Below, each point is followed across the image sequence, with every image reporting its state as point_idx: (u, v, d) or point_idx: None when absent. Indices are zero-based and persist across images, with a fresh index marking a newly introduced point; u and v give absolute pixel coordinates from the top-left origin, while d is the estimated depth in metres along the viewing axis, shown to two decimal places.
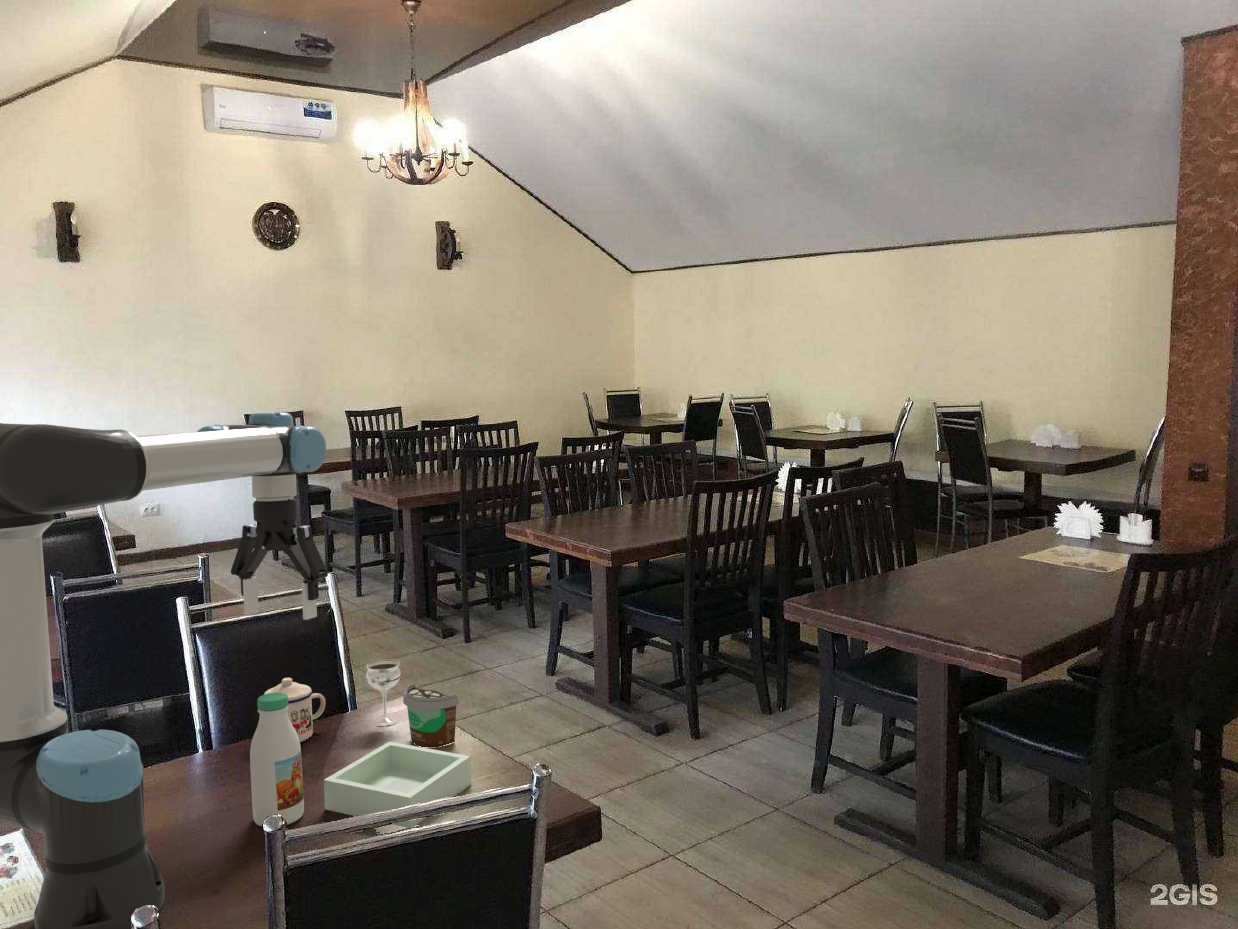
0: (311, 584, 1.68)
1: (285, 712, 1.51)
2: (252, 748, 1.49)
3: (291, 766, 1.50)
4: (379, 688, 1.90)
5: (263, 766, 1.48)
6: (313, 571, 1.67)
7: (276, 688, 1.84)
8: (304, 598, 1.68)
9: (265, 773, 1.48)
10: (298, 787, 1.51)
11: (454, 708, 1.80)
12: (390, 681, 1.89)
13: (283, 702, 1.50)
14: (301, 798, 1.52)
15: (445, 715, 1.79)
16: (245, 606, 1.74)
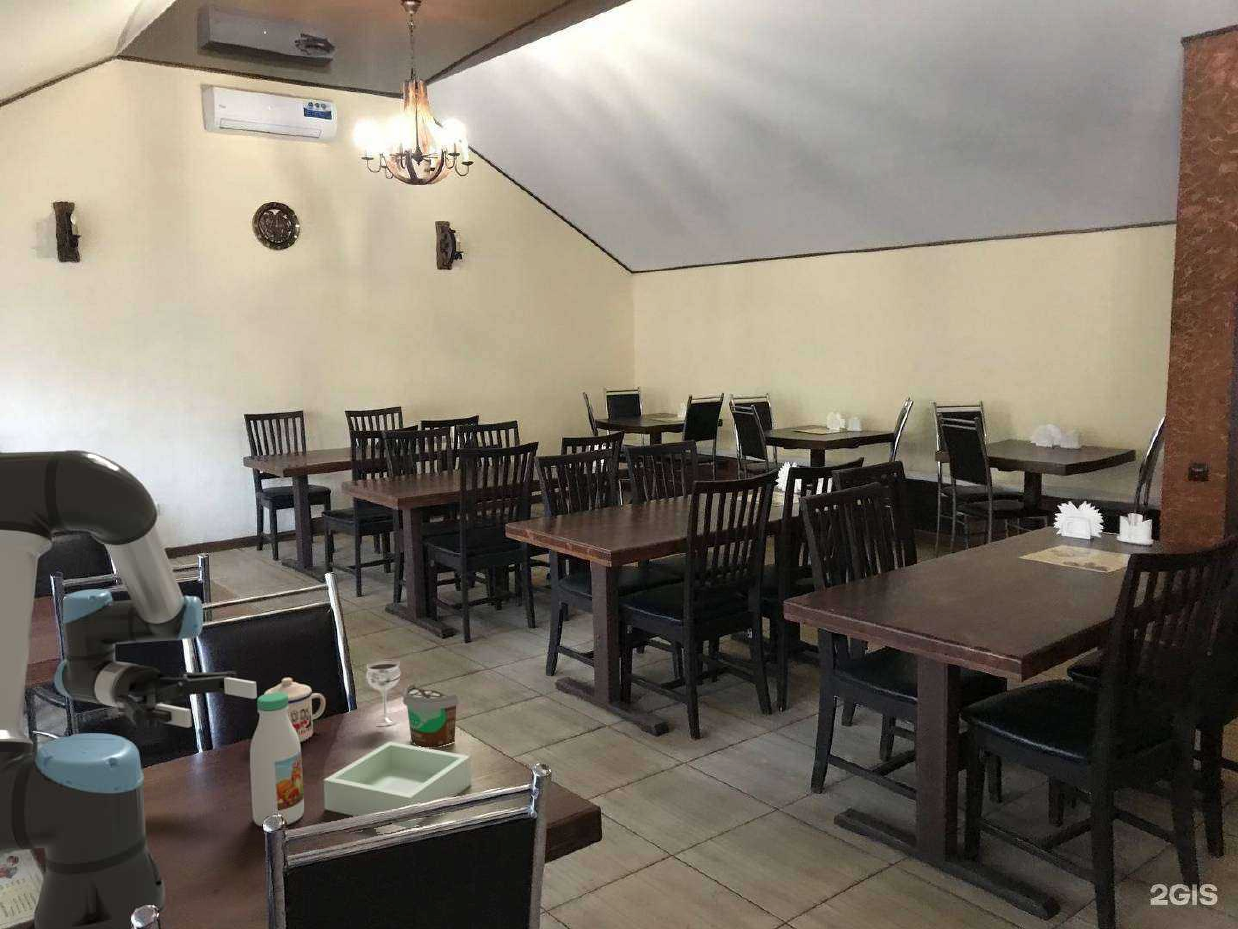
0: None
1: (285, 712, 1.51)
2: (252, 748, 1.49)
3: (291, 766, 1.50)
4: (379, 688, 1.90)
5: (263, 766, 1.48)
6: (226, 673, 1.67)
7: (276, 688, 1.84)
8: (238, 679, 1.63)
9: (264, 773, 1.48)
10: (298, 787, 1.51)
11: (454, 708, 1.80)
12: (390, 681, 1.89)
13: (283, 702, 1.50)
14: (301, 798, 1.52)
15: (445, 715, 1.79)
16: (181, 708, 1.50)
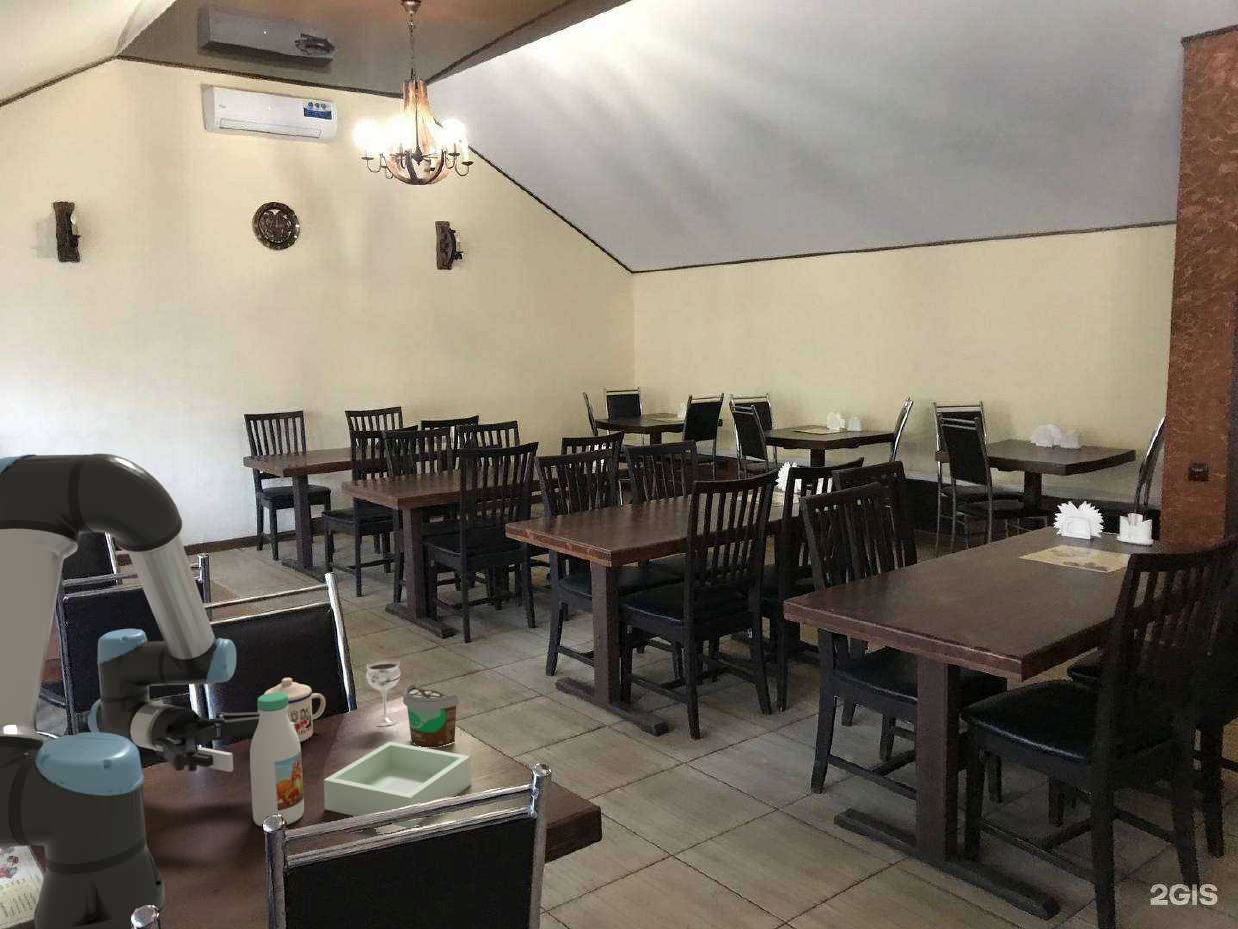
0: None
1: (285, 712, 1.51)
2: (252, 748, 1.49)
3: (291, 766, 1.50)
4: (379, 688, 1.90)
5: (263, 766, 1.48)
6: None
7: (276, 688, 1.84)
8: None
9: (264, 773, 1.48)
10: (298, 787, 1.51)
11: (454, 708, 1.80)
12: (390, 681, 1.89)
13: (283, 702, 1.50)
14: (301, 798, 1.52)
15: (445, 715, 1.79)
16: (222, 752, 1.48)
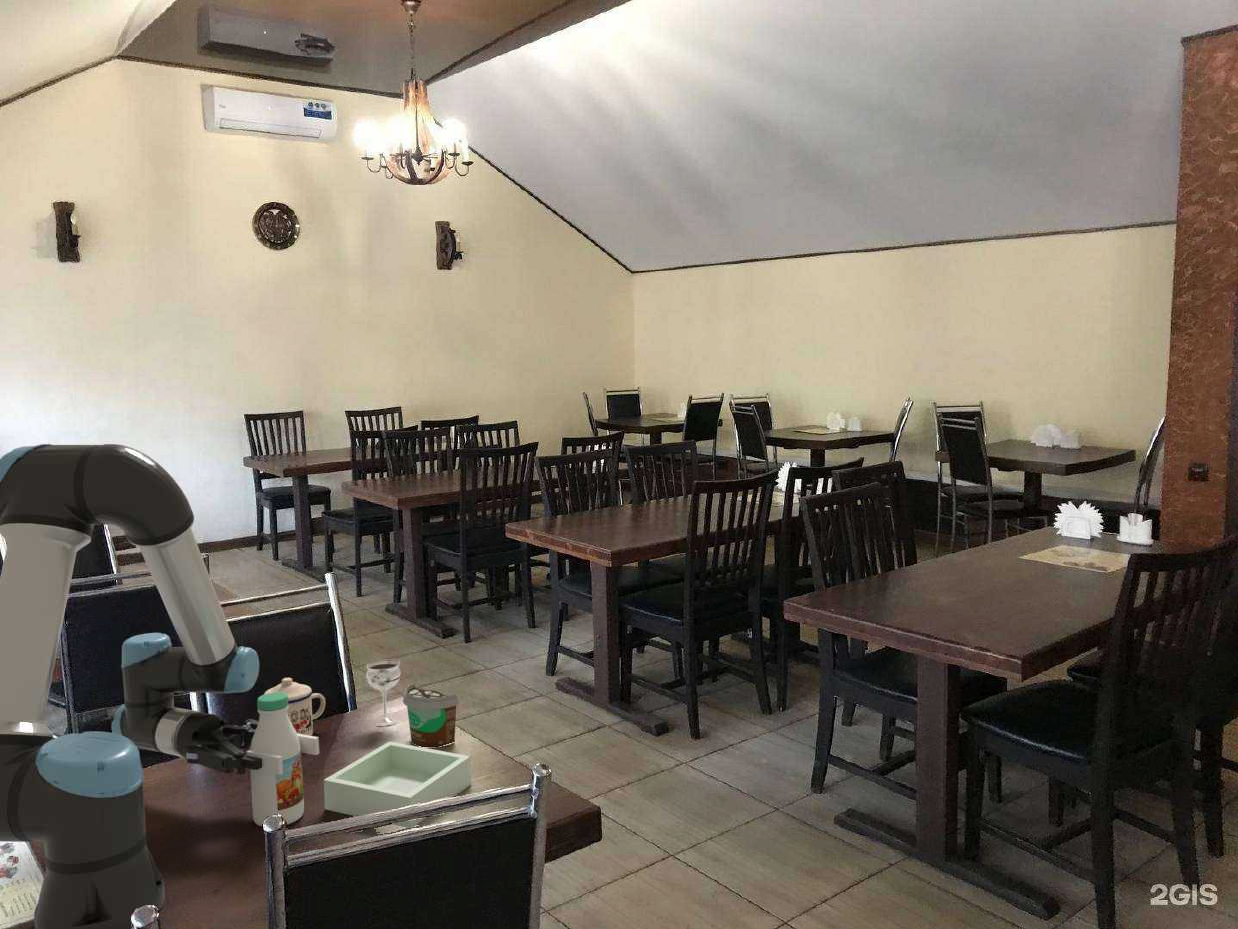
0: None
1: (285, 712, 1.51)
2: (252, 748, 1.49)
3: (291, 766, 1.50)
4: (379, 688, 1.90)
5: None
6: None
7: (276, 688, 1.84)
8: (299, 734, 1.55)
9: (264, 773, 1.48)
10: (298, 787, 1.51)
11: (454, 708, 1.80)
12: (390, 681, 1.89)
13: (282, 702, 1.50)
14: (301, 798, 1.52)
15: (445, 715, 1.79)
16: (272, 755, 1.46)
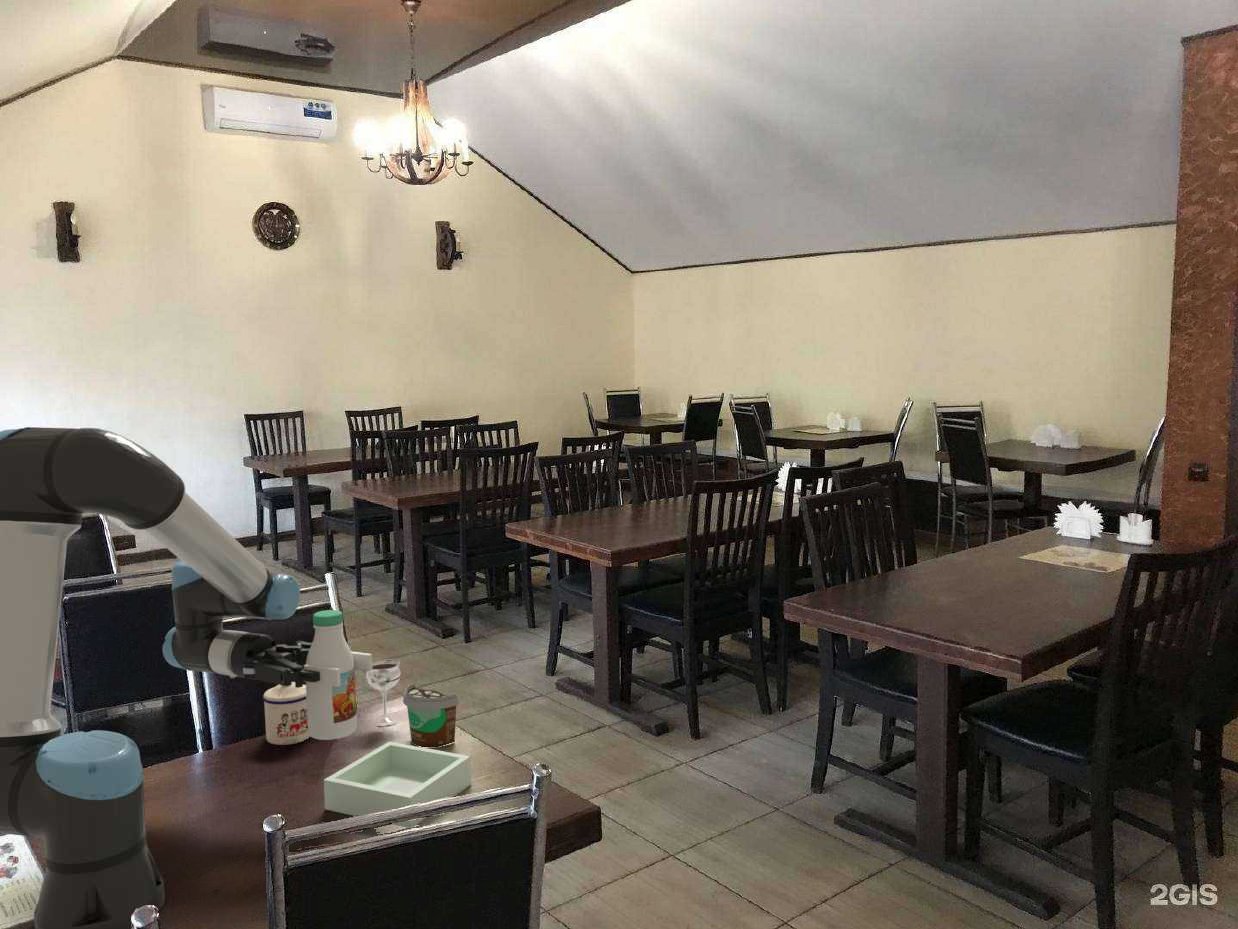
0: None
1: (340, 628, 1.54)
2: (308, 663, 1.53)
3: (346, 680, 1.53)
4: (379, 688, 1.90)
5: None
6: None
7: (276, 688, 1.84)
8: (351, 652, 1.58)
9: (321, 686, 1.52)
10: (352, 701, 1.55)
11: (454, 708, 1.80)
12: (390, 681, 1.89)
13: (338, 618, 1.53)
14: (355, 713, 1.56)
15: (445, 715, 1.79)
16: (330, 668, 1.50)
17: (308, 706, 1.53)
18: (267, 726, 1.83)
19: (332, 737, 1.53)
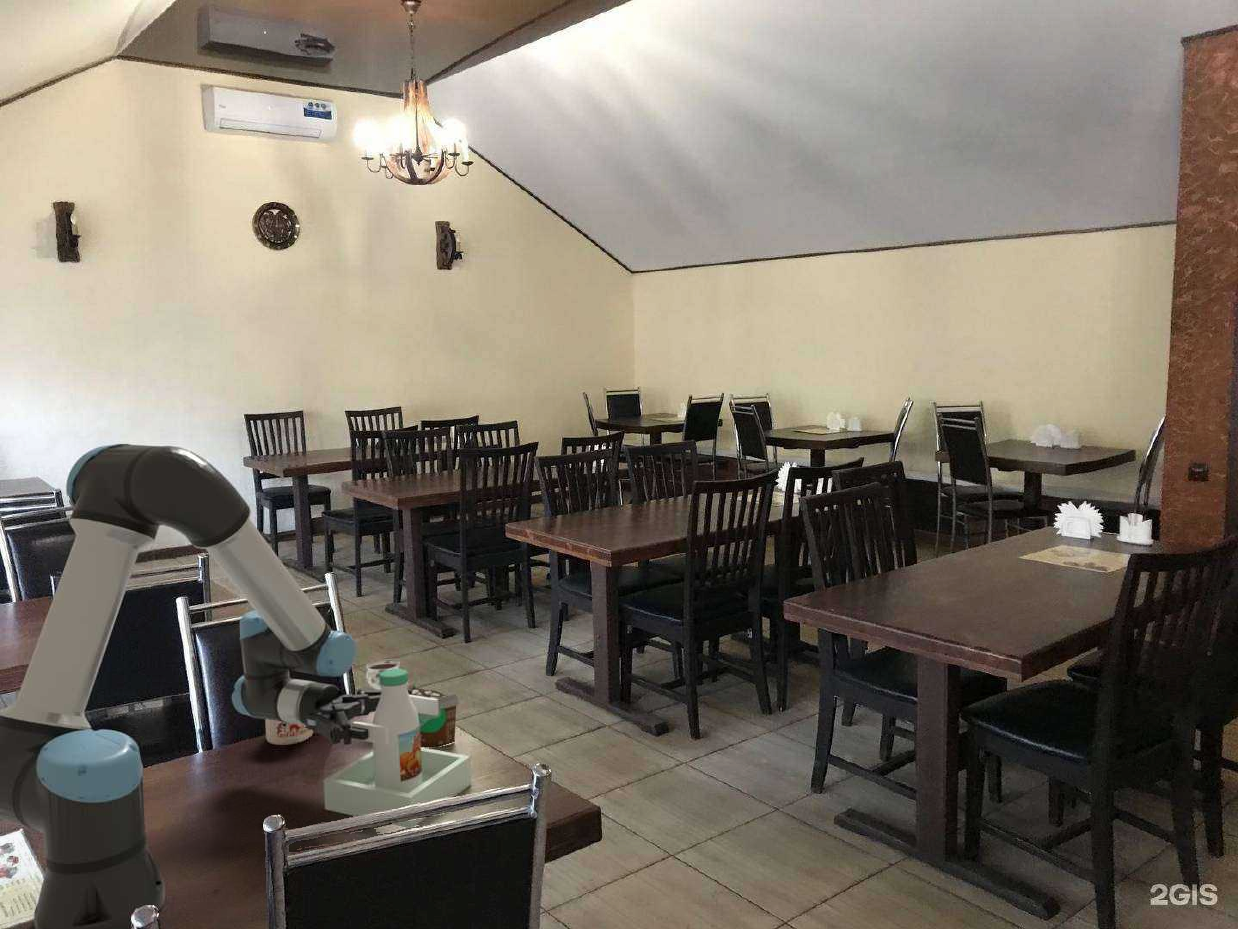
0: None
1: (406, 687, 1.57)
2: (375, 722, 1.56)
3: (412, 739, 1.56)
4: (379, 688, 1.90)
5: None
6: None
7: None
8: (418, 696, 1.64)
9: (388, 745, 1.55)
10: (418, 759, 1.58)
11: (454, 708, 1.80)
12: None
13: (404, 677, 1.56)
14: (420, 770, 1.59)
15: (445, 715, 1.79)
16: (378, 726, 1.51)
17: (375, 764, 1.57)
18: (267, 726, 1.83)
19: None
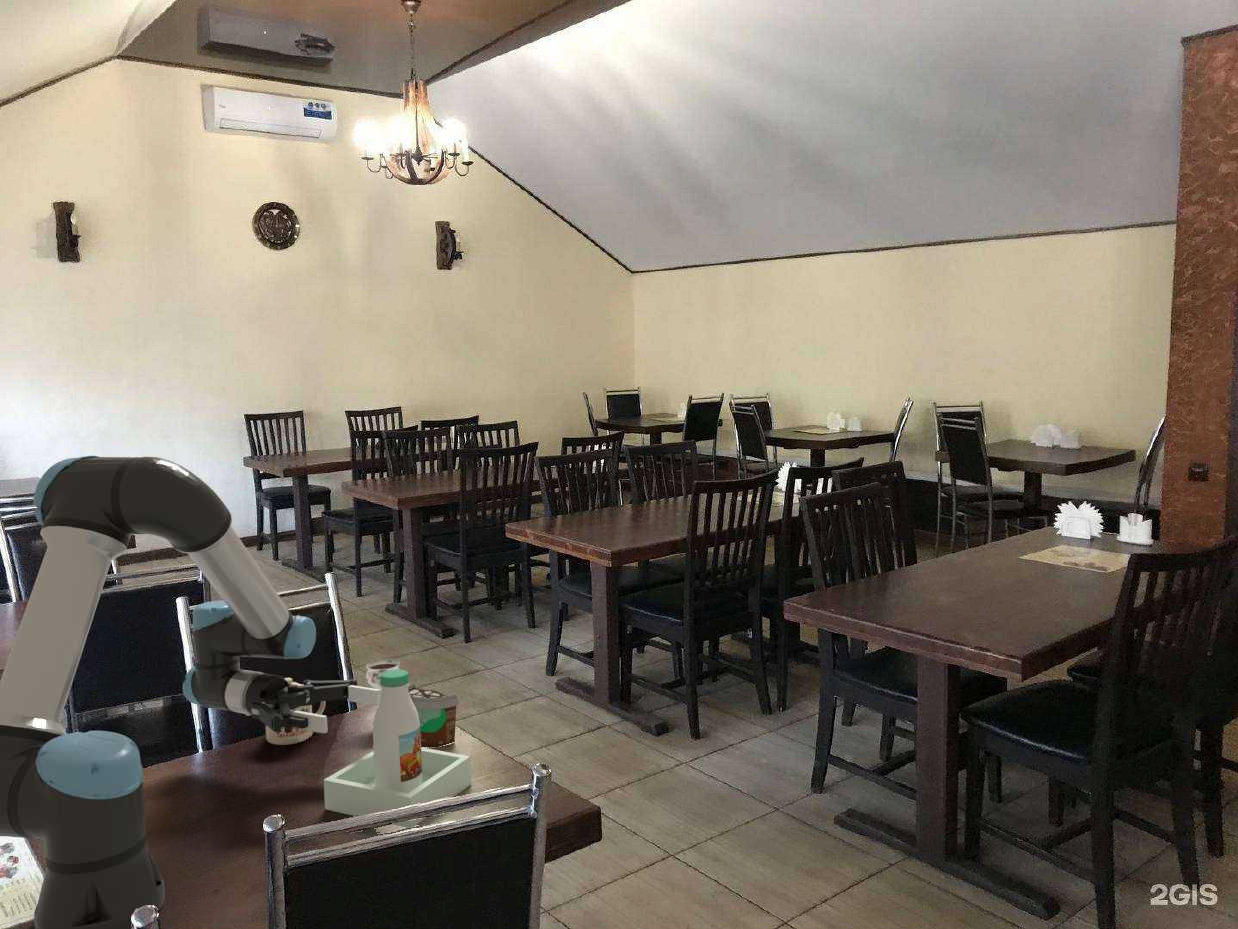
0: None
1: (406, 688, 1.57)
2: (376, 722, 1.56)
3: (413, 740, 1.56)
4: (379, 688, 1.90)
5: (387, 739, 1.55)
6: (348, 681, 1.73)
7: None
8: (362, 687, 1.69)
9: (389, 746, 1.55)
10: (418, 760, 1.58)
11: (454, 708, 1.80)
12: None
13: (405, 678, 1.56)
14: (421, 771, 1.59)
15: (445, 715, 1.79)
16: (317, 715, 1.56)
17: (375, 765, 1.57)
18: (267, 726, 1.83)
19: None
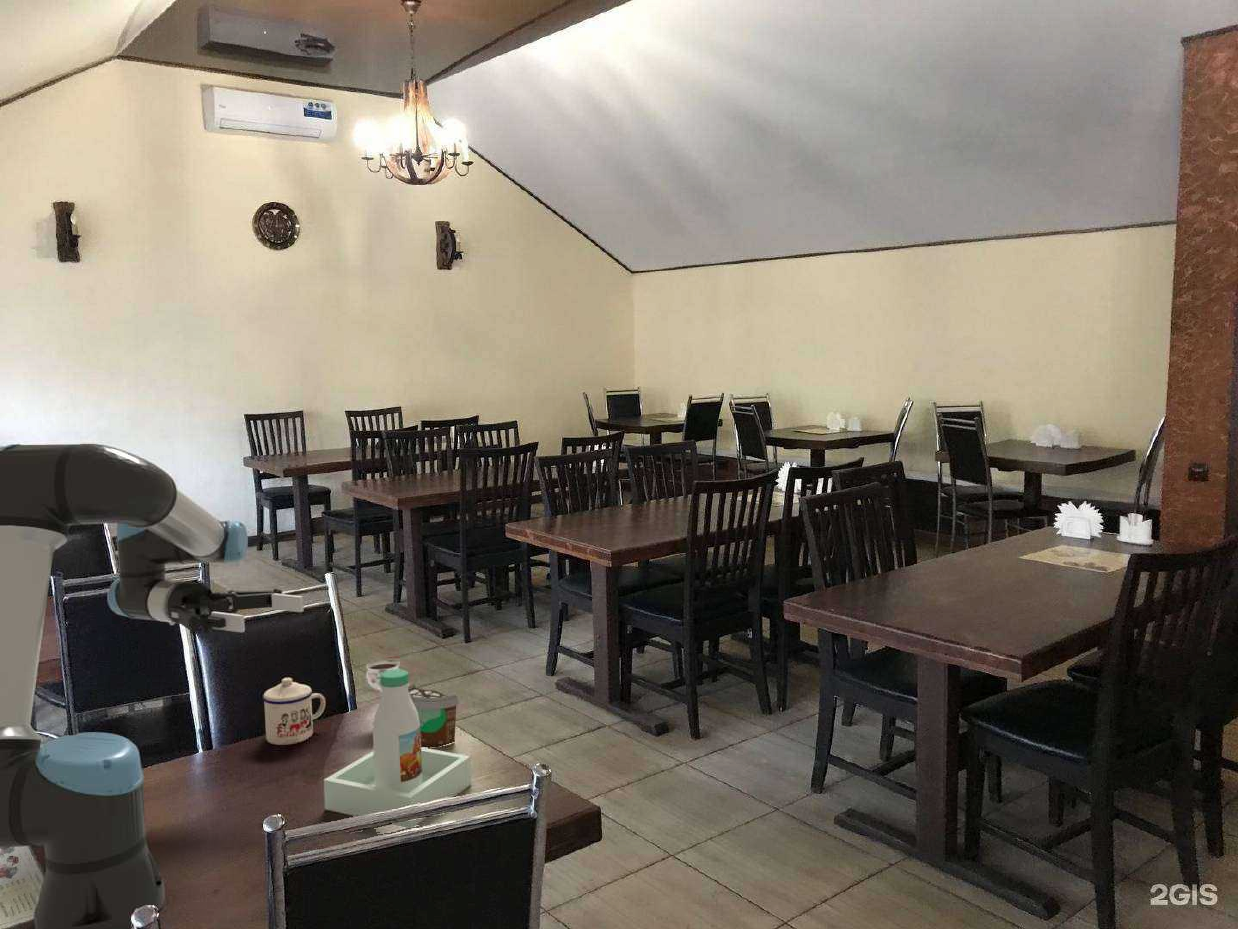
0: None
1: (406, 688, 1.57)
2: (376, 722, 1.56)
3: (413, 740, 1.56)
4: (379, 688, 1.90)
5: (387, 739, 1.55)
6: (273, 590, 1.74)
7: (276, 688, 1.84)
8: (285, 595, 1.70)
9: (389, 746, 1.55)
10: (418, 760, 1.58)
11: (454, 708, 1.80)
12: None
13: (405, 678, 1.56)
14: (421, 771, 1.59)
15: (445, 715, 1.79)
16: (234, 614, 1.56)
17: (375, 765, 1.57)
18: (267, 726, 1.83)
19: None
